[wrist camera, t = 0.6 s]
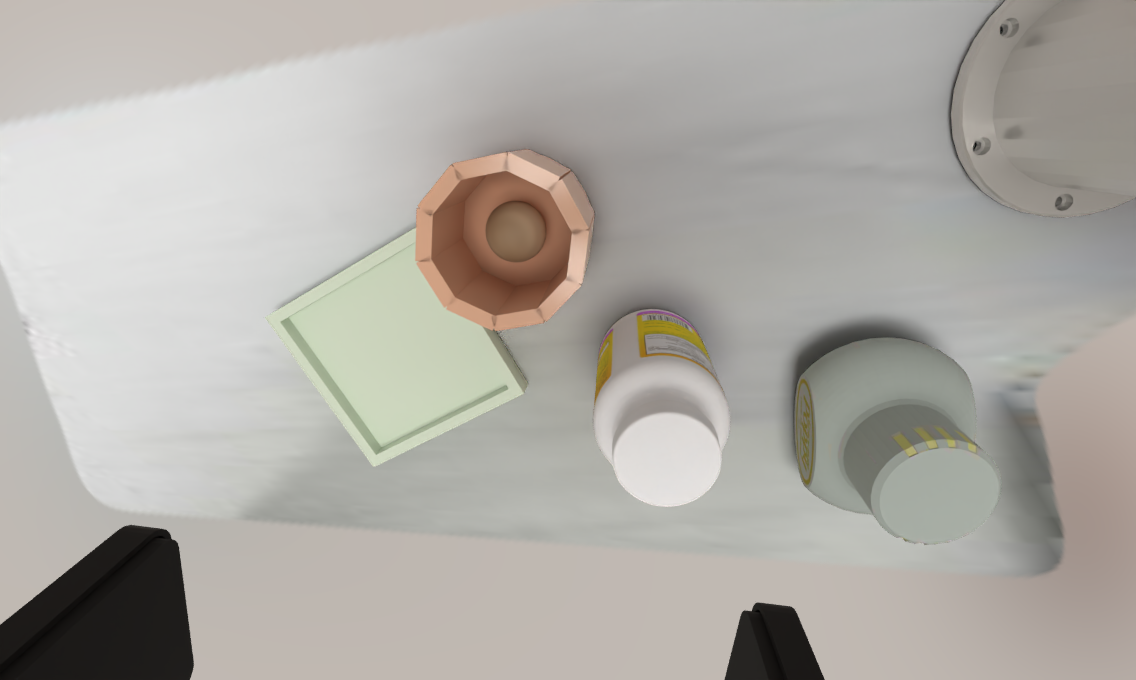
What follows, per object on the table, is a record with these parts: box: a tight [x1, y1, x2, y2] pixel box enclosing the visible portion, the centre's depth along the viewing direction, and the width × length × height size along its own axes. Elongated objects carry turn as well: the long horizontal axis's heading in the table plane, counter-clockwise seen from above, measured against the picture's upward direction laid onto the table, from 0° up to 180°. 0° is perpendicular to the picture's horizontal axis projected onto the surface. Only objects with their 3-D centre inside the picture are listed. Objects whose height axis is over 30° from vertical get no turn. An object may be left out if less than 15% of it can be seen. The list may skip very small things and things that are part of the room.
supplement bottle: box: [593, 309, 730, 507], centre depth 31 cm, size 7×7×13 cm
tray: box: [265, 228, 528, 467], centre depth 38 cm, size 12×12×2 cm
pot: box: [415, 149, 595, 331], centre depth 32 cm, size 8×9×7 cm
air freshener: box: [794, 337, 1002, 545], centre depth 32 cm, size 11×8×10 cm
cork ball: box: [485, 201, 546, 262], centre depth 33 cm, size 3×3×3 cm
